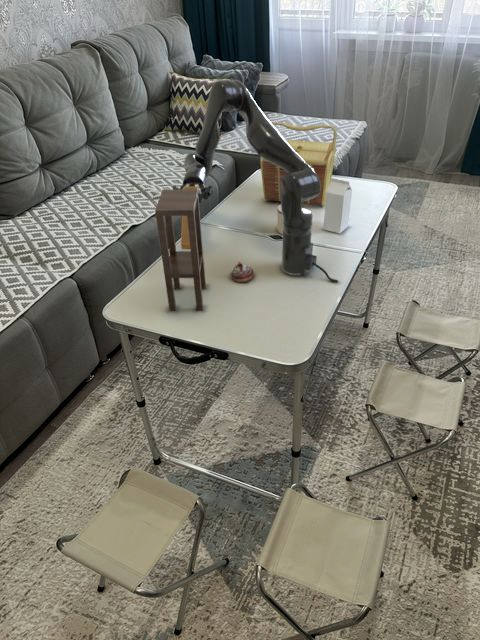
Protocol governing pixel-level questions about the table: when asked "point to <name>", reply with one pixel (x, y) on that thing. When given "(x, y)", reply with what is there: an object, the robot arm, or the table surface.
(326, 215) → the milk carton
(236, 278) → the pastry
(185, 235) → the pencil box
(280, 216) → the teacup with lid
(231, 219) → the table surface
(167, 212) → the stand
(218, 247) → the table surface
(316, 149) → the picnic basket
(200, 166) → the robot arm
